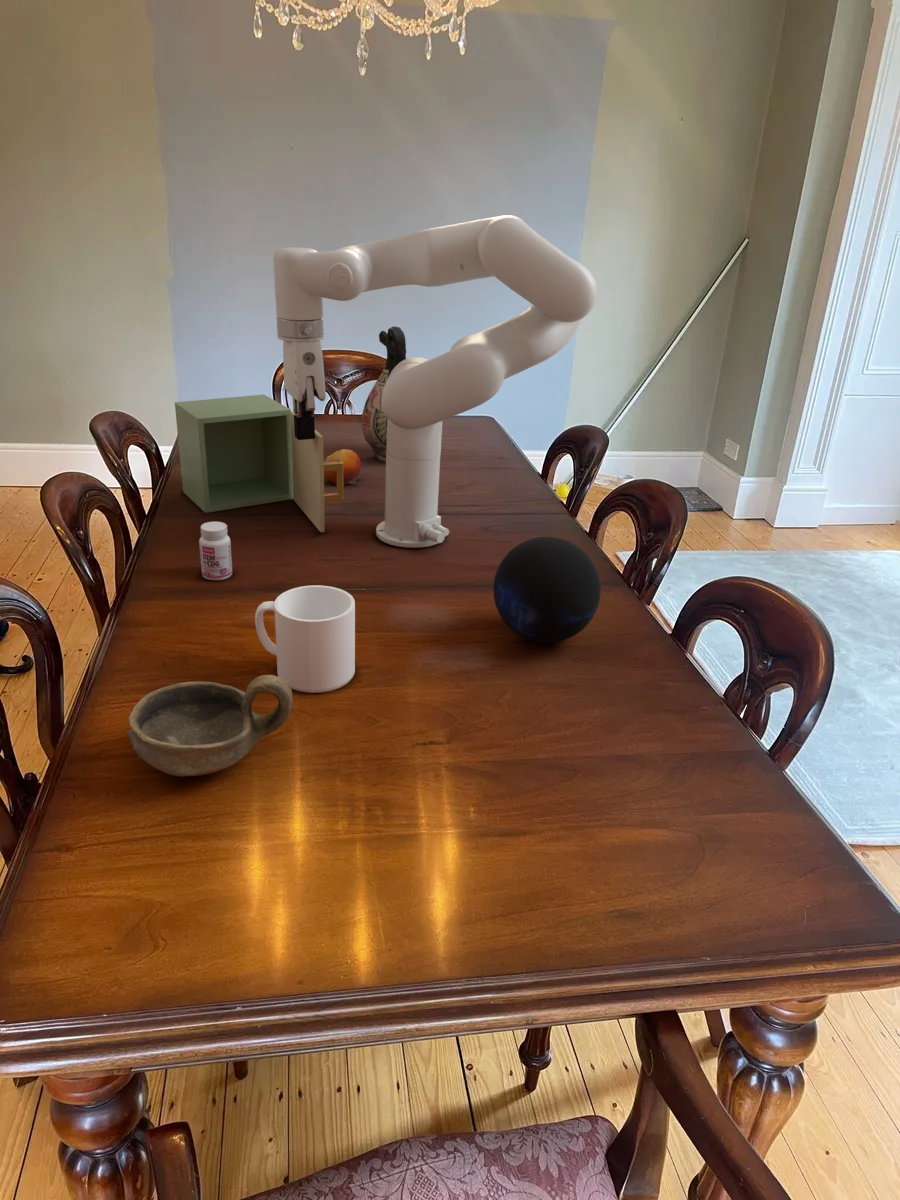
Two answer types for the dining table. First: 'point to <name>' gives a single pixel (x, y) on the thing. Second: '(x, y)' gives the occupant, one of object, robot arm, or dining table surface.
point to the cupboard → (235, 451)
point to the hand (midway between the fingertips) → (304, 438)
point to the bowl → (204, 724)
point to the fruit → (350, 466)
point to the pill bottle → (215, 551)
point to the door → (313, 477)
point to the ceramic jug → (373, 409)
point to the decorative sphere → (547, 589)
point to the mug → (312, 637)
